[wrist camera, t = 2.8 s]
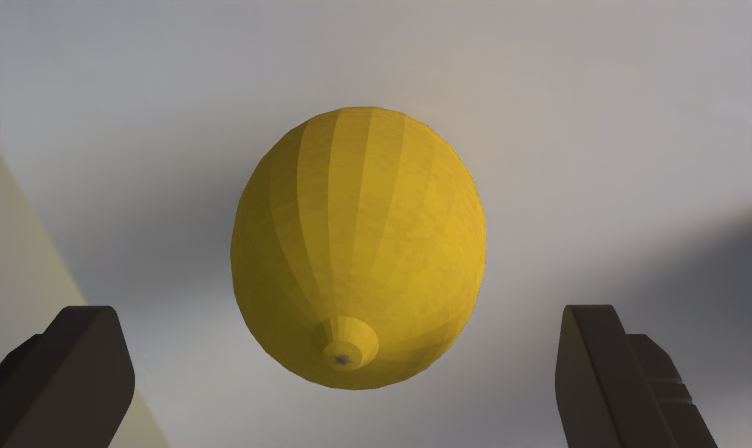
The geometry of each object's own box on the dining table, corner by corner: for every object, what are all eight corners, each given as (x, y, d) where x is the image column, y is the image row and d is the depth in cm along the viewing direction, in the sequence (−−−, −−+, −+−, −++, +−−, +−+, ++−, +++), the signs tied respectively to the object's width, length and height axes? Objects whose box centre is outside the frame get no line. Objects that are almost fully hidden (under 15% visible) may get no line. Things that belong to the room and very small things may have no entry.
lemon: (258, 221, 19) (163, 430, 12) (297, 39, 16) (203, 173, 9) (435, 269, 19) (445, 497, 12) (502, 100, 17) (563, 271, 10)
